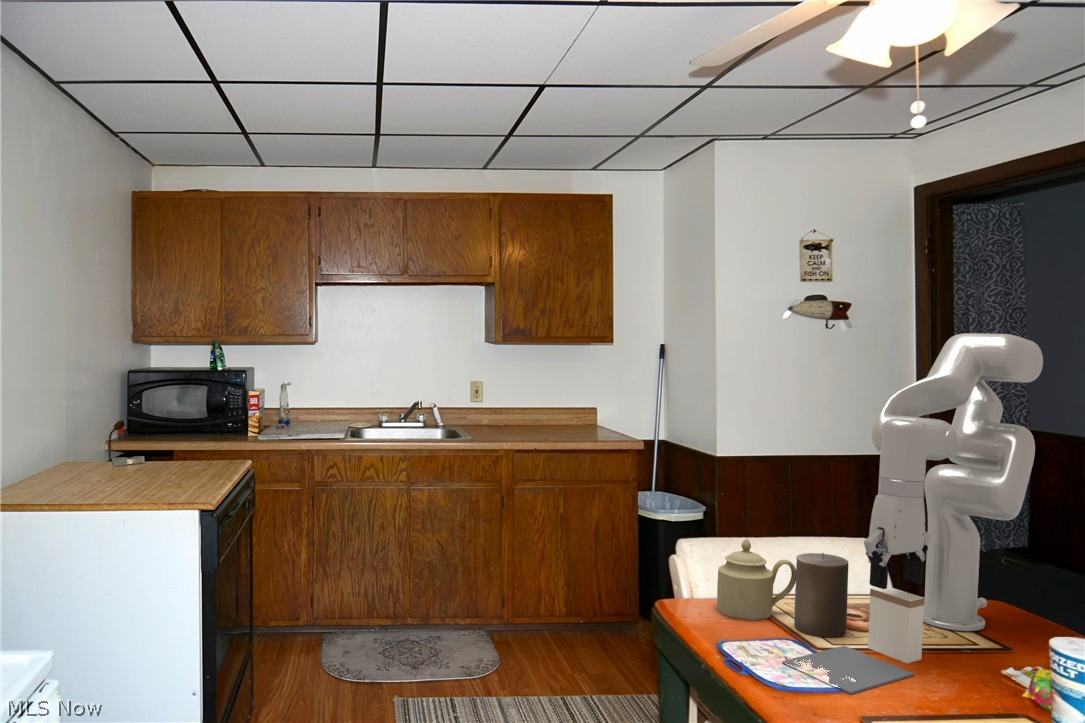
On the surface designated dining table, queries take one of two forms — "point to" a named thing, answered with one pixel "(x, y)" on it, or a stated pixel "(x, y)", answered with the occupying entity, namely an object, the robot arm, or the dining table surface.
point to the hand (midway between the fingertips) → (895, 584)
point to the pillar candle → (821, 594)
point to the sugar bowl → (749, 585)
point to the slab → (896, 624)
